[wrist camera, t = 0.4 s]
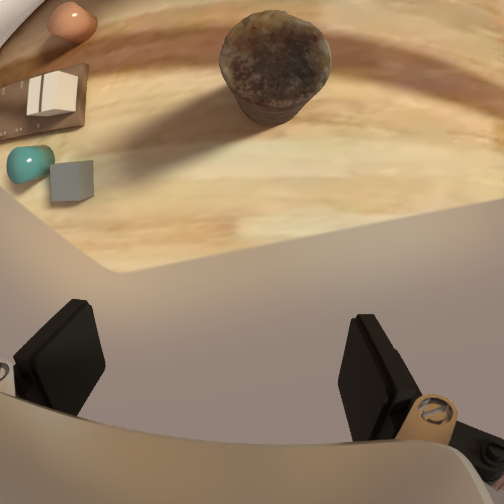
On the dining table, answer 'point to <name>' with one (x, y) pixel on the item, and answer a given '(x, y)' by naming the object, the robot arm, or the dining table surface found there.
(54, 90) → the slider
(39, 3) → the plate
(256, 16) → the candle
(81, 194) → the slate box
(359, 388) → the robot arm
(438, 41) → the dining table surface
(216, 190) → the dining table surface
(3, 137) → the rail
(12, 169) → the teal rounded cylinder
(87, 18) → the peach domed cylinder
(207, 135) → the dining table surface
